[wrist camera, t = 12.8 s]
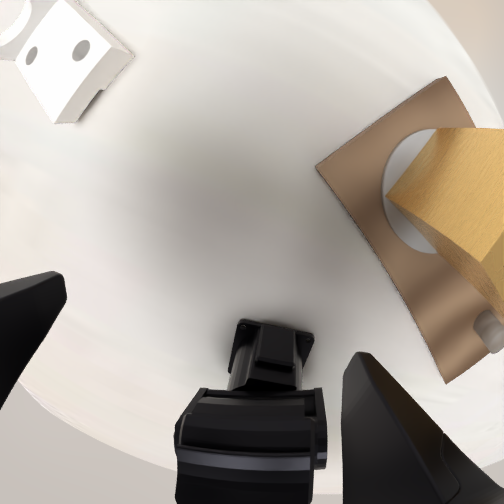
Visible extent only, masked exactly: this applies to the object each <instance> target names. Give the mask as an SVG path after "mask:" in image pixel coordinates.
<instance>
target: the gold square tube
mask: <svg viewBox="0 0 504 504" xmlns="http://www.w3.org/2000/svg"><path fill="white" fill-rule="evenodd" d="M385 197H386V198H387V199H388V200H389V201H390V202H391V203H392V204H393V205H394V206H395V207H396V208H397V209H398V210H399V211H400V212H401V213H402V214H403V215H404V216H405V217H406V218H407V219H408V220H409V221H410V222H411V223H412V225H413V226H414V227H415V228H416V229H417V230H418V231H419V232H420V233H421V234H422V235H423V237H424V238H425V239H426V240H427V241H428V242H429V243H430V245H431V246H432V247H433V248H434V249H435V250H436V252H437V253H438V254H439V255H440V256H442V257H443V258H444V259H445V260H446V261H447V262H448V263H449V264H450V265H451V266H453V267H454V268H455V269H456V270H457V271H458V272H459V273H460V274H461V275H462V276H463V277H464V278H465V279H466V280H467V281H468V282H469V283H470V284H471V285H472V286H473V287H474V288H475V289H476V290H477V291H478V292H479V293H480V294H481V295H482V296H483V297H484V298H485V299H486V300H487V301H488V302H489V303H490V304H491V305H492V306H493V307H494V308H495V310H496V311H497V312H498V313H499V314H500V315H501V316H502V317H503V318H504V129H490V128H437V129H436V131H435V132H434V133H433V135H432V136H431V138H430V139H429V140H428V142H427V143H426V144H425V146H424V147H423V148H422V150H421V151H420V152H419V154H418V155H417V156H416V157H415V159H414V160H413V161H412V163H411V164H410V165H409V166H408V168H407V169H406V170H405V172H404V173H403V174H402V175H401V177H400V178H399V179H398V180H397V182H396V183H395V184H394V185H393V187H392V188H391V189H390V190H389V191H388V193H387V194H386V195H385Z"/></svg>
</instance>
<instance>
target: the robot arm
mask: <svg viewBox="0 0 504 504" xmlns="http://www.w3.org/2000/svg"><path fill="white" fill-rule="evenodd" d="M66 300H67V293H66V287H65V281H64V277H63V275H62V274H60V273H58V272H55V271H50V272H45V273H41V274H37V275H33V276H29V277H25V278H21V279H17V280H13V281H9V282H5V283H1V284H0V410H1V407H2V406H3V404H4V402H5V401H6V399H7V397H8V395H9V394H10V392H11V390H12V388H13V387H14V385H15V383H16V382H17V380H18V378H19V377H20V375H21V373H22V372H23V370H24V369H25V367H26V366H27V364H28V362H29V361H30V359H31V358H32V356H33V355H34V353H35V352H36V350H37V349H38V347H39V346H40V344H41V343H42V342H43V340H44V338H45V337H46V335H47V334H48V332H49V330H50V328H51V327H52V325H53V323H54V321H55V320H56V318H57V316H58V315H59V313H60V311H61V310H62V308H63V307H64V305H65V303H66ZM241 325H245V326H246V327H242V326H241ZM308 338H310V340H306V339H308ZM313 343H314V335H313V334H311V333H306V332H301V331H296V330H292V329H287V328H282V327H277V326H272V325H267V324H261V323H257V322H252V321H248V320H240V321H239V322H238V324H237V329H236V334H235V338H234V343H233V348H232V353H231V358H230V363H229V367H228V372H229V373H230V374H231V375H230V379H229V383H228V387H227V390H211V389H208V388H200V389H199V391H198V392H197V393H196V395H195V396H194V398H193V399H192V401H191V402H190V403H189V405H188V406H187V408H186V409H185V410H184V412H183V413H182V415H181V416H180V418H179V419H178V421H177V422H176V424H175V432H174V448H175V453H176V456H177V484H176V492H175V500H176V502H177V504H310V503H311V502H312V496H313V479H314V470H320V469H325V468H326V462H327V421H326V414H325V406H324V399H323V393H322V388H314V389H313V390H302V369H303V367H304V364H305V362H306V360H307V358H308V355H309V353H310V351H311V348H312V346H313ZM341 436H342V461H343V504H504V488H502V487H500V486H499V485H498V484H496V483H495V482H494V481H493V480H492V479H491V478H490V477H489V476H488V475H487V474H485V473H484V472H483V471H482V470H481V469H480V468H479V467H478V466H477V465H476V464H475V463H473V462H472V461H471V460H470V459H469V458H468V457H467V456H466V455H465V454H464V453H463V452H462V451H461V450H460V449H459V448H458V447H457V446H456V445H455V444H454V443H453V441H452V440H451V439H450V438H449V437H448V436H447V435H446V434H445V433H443V431H442V429H441V428H440V427H439V426H438V425H437V424H436V423H435V422H434V421H433V420H432V419H431V417H430V416H429V415H428V414H427V413H426V412H425V411H424V410H423V409H422V408H421V407H420V406H419V404H418V403H417V402H416V401H415V400H414V399H413V398H412V397H411V396H410V395H409V394H408V393H407V392H406V391H405V389H404V388H403V387H402V386H401V385H400V384H399V383H398V382H397V381H396V380H395V379H394V378H393V377H392V376H391V375H390V373H389V372H388V371H387V370H386V369H385V368H384V367H383V366H382V365H381V364H380V363H379V362H378V361H377V360H376V359H375V358H374V357H373V356H372V355H371V354H370V353H366V352H356V353H355V354H354V356H353V358H352V359H351V361H350V363H349V365H348V366H347V368H346V370H345V372H344V375H343V391H342V412H341Z"/></svg>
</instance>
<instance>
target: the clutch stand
mask: <svg viewBox="0 0 504 504" xmlns="http://www.w3.org/2000/svg"><path fill="white" fill-rule="evenodd" d="M437 128H476V127H475V125H474V123H473V121H472V119H471V117H470V115H469V113H468V111H467V110H466V108H465V106H464V104H463V103H462V101H461V99H460V97H459V96H458V94H457V92H456V91H455V89H454V88H453V86H452V84H451V83H450V81H449V80H448V78H447V77H446V76H445V77H442V78H439V79H436V80H435V81H433V82H432V83H430V84H429V85H427V86H426V87H424V88H423V89H422V90H420V91H419V92H417V93H416V94H414V95H413V96H411V97H410V98H409V99H407V100H406V101H404V102H403V103H401V104H400V105H399V106H397V107H396V108H394V109H393V110H391V111H390V112H389V113H387V114H386V115H384V116H383V117H382V118H380V119H379V120H377V121H376V122H375V123H373V124H372V125H371V126H369V127H368V128H366V129H365V130H364V131H362V132H361V133H360V134H358V135H357V136H355V137H354V138H353V139H351V140H350V141H349V142H347V143H346V144H345V145H343V146H342V147H340V148H339V149H338V150H336V151H335V152H334V153H332V154H331V155H330V156H328V157H327V158H326V159H324V160H323V161H322V162H320V163H319V164H318V165H316V166H315V167H316V169H317V170H318V171H319V173H320V174H321V175H322V177H323V178H324V179H325V181H326V182H327V183H328V185H329V186H330V187H331V189H332V190H333V191H334V193H335V194H336V195H337V197H338V198H339V199H340V201H341V202H342V204H343V205H344V206H345V208H346V209H347V211H348V212H349V214H350V215H351V216H352V218H353V219H354V221H355V222H356V224H357V225H358V227H359V228H360V230H361V231H362V233H363V234H364V236H365V237H366V239H367V240H368V242H369V243H370V245H371V246H372V248H373V250H374V251H375V253H376V254H377V256H378V257H379V259H380V261H381V262H382V264H383V266H384V267H385V269H386V270H387V272H388V274H389V275H390V277H391V279H392V281H393V282H394V284H395V286H396V287H397V289H398V291H399V293H400V294H401V296H402V298H403V300H404V301H405V303H406V305H407V307H408V309H409V311H410V312H411V314H412V316H413V318H414V320H415V322H416V324H417V326H418V328H419V329H420V331H421V333H422V335H423V337H424V339H425V341H426V343H427V345H428V348H429V350H430V352H431V354H432V356H433V358H434V360H435V362H436V365H437V367H438V369H439V371H440V373H441V376H442V378H443V380H444V382H445V384H448V383H449V382H451V381H452V380H454V379H455V378H456V377H458V376H459V375H461V374H462V373H464V372H465V371H466V370H468V369H469V368H470V367H472V366H473V365H474V364H476V363H477V362H478V361H480V360H481V359H482V358H484V357H485V356H486V355H487V354H489V353H490V352H491V353H492V354H495V353H497V352H499V351H500V350H501V349H502V348H503V347H504V318H503V317H502V316H501V315H500V314H499V313H498V312H497V311H496V310H495V308H494V307H493V306H492V305H491V304H490V303H489V302H488V301H487V300H486V299H485V298H484V297H483V296H482V295H481V294H480V293H479V292H478V291H477V290H476V289H475V288H474V287H473V286H472V285H471V284H470V283H469V282H468V281H467V280H466V279H465V278H464V277H463V276H462V275H461V274H460V273H459V272H458V271H457V270H456V269H455V268H454V267H453V266H451V265H450V264H449V263H448V262H447V261H446V260H445V259H444V258H443V257H442V256H440V255H439V254H438V253H437V252H436V250H435V249H434V248H433V247H432V246H431V245H430V243H429V242H428V241H427V240H426V239H425V238H424V237H423V235H422V234H421V233H420V232H419V231H418V230H417V229H416V228H415V227H414V226H413V225H412V223H411V222H410V221H409V220H408V219H407V218H406V217H405V216H404V215H403V214H402V213H401V212H400V211H399V210H398V209H397V208H396V207H395V206H394V205H393V204H392V203H391V202H390V201H389V200H388V199H387V198H386V197H385V195H386V194H387V193H388V191H389V190H390V189H391V188H392V187H393V185H394V184H395V183H396V182H397V180H398V179H399V178H400V177H401V175H402V174H403V173H404V172H405V170H406V169H407V168H408V166H409V165H410V164H411V163H412V161H413V160H414V159H415V157H416V156H417V155H418V154H419V152H420V151H421V150H422V148H423V147H424V146H425V144H426V143H427V142H428V140H429V139H430V138H431V136H432V135H433V133H434V132H435V131H436V129H437Z"/></svg>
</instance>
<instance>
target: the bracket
mask: <svg viewBox="0 0 504 504" xmlns="http://www.w3.org/2000/svg"><path fill="white" fill-rule="evenodd" d="M134 57H135V56H134V55H133V54H132V53H131V52H130V51H129V50H128V49H127V48H126V47H125V46H123V45H122V44H121V43H120V42H119V41H118V40H117V39H116V38H115V37H114V36H113V35H112V34H111V33H110V32H109V31H108V30H107V29H106V28H105V27H104V26H103V25H102V24H100V23H99V22H98V21H97V20H96V19H95V18H94V17H93V16H92V15H91V14H90V13H89V12H87V11H86V10H85V9H84V8H83V7H82V6H81V5H80V4H78V3H77V2H76V1H75V0H25V4H24V8H23V10H22V12H21V14H20V16H19V17H18V19H17V20H16V21H15V22H14V23H13V24H12V26H10V27H9V28H8V29H7V30H6V31H4V32H3V33H1V34H0V60H8V61H15V63H16V64H17V66H18V68H19V70H20V71H21V73H22V75H23V76H24V78H25V80H26V81H27V83H28V85H29V86H30V88H31V90H32V91H33V93H34V94H35V96H36V98H37V99H38V101H39V102H40V104H41V105H42V107H43V108H44V110H45V112H46V113H47V115H48V116H49V118H50V119H51V121H52V122H53V123H54V124H64V123H75V122H76V121H77V120H78V118H79V117H80V115H81V114H82V112H83V111H84V110H85V108H86V107H87V106H88V104H89V103H90V102H91V100H92V99H93V98H94V96H95V95H96V94H97V93H98V91H99V90H100V89H101V90H105V89H106V88H107V87H108V86H109V85H110V83H111V82H112V81H113V80H114V79H115V78H116V76H117V75H118V74H119V73H120V72H121V71H122V70H123V69H124V67H125V66H126V65H127V64H128V63H129V62H130V61H131V60H132V59H133V58H134Z"/></svg>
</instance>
